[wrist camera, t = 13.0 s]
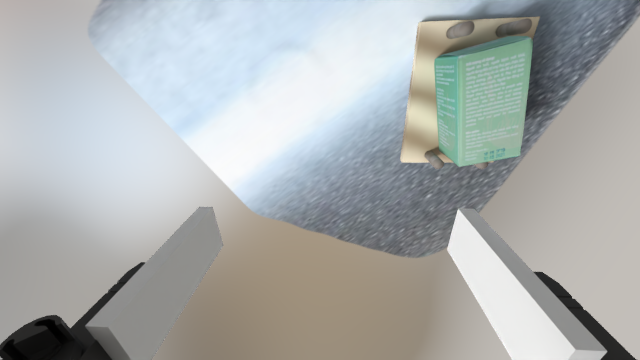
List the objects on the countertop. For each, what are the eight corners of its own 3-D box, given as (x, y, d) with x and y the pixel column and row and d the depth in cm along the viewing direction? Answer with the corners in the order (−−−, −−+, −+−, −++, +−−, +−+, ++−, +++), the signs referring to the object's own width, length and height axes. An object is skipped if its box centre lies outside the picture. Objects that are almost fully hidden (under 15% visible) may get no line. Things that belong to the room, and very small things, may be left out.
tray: (418, 23, 30) (432, 16, 26) (532, 18, 29) (569, 9, 25) (400, 159, 39) (408, 172, 34) (488, 159, 38) (509, 172, 33)
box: (493, 38, 30) (537, 31, 23) (488, 139, 35) (523, 157, 29) (432, 55, 31) (457, 53, 24) (437, 149, 37) (458, 169, 30)
